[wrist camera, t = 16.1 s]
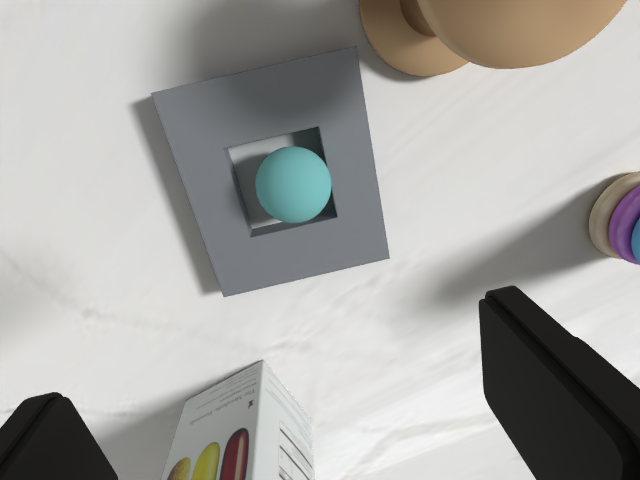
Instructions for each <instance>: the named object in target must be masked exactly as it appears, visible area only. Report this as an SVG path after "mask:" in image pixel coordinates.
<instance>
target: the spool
mask: <svg viewBox="0 0 640 480" xmlns="http://www.w3.org/2000/svg"><path fill="white" fill-rule="evenodd" d="M626 1H627V0H359V9H360V17H361V22H362V26H363V29H364V32H365V34H366V37H367V39H368V41H369V43H370V44H371V46H372V48H373V49H374V51H375V52H376V53H377V54H378V55H379V57H380V58H381V59H382V60H384V61H385V62H386V63H387V64H388V65H390V66H391V67H393V68H394V69H396V70H398V71H400V72H403V73H406V74H409V75H415V76H434V75H440V74H445V73H448V72H451V71H454V70H456V69H458V68H460V67H462V66H463V65H465V64H467V63H468V62H471V63H474V64H477V65H480V66H483V67H488V68H495V69H514V68H526V67H532V66H539V65H543V64H546V63H549V62H553V61H555V60H558V59H560V58H562V57H564V56H567V55H569V54H570V53H572V52H574V51H575V50H577V49H579V48H580V47H582V46H583V45H585V44H586V43H587V42H589V41H590V40H591V39H592V38H594V37H595V36H596V35H597V34H598V33H599V32H600V31H601V30H603V29H604V28H605V27H606V26H607V25H608V24H609V23H610V21H611V20H612V19H613V18H614V17H615V16H616V14H617V13H618V12H619V11H620V10H621V8H622V7H623V5H624V4H625V3H626Z"/></svg>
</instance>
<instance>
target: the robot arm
mask: <svg viewBox="0 0 640 480" xmlns="http://www.w3.org/2000/svg"><path fill="white" fill-rule="evenodd" d="M479 318H480V336H481V353H482V371H483V388H484V394H485V398H486V400H487V403H488V405H489V406H490V408H491V410H492V411H493V413H494V414H495V416H496V418H497V419H498V421H499V422H500V424H501V425H502V427H503V428H504V430H505V432H506V433H507V435H508V436H509V438H510V439H511V441H512V443H513V444H514V446H515V447H516V449H517V450H518V452H519V453H520V455H521V457H522V458H523V460H524V461H525V463H526V464H527V466H528V467H529V469H530V471H531V472H532V474H533V475H534V477H535V478H536V480H640V389H639V388H638V387H637V386H636V385H634V384H633V383H632V382H631V381H630V380H629V379H627V378H626V377H625V376H624V375H623V374H622V373H620V372H619V371H618V370H617V369H616V368H615V367H613V366H612V365H611V364H610V363H609V362H608V361H606V360H605V359H604V358H603V357H602V356H601V355H599V354H598V353H597V352H596V351H595V350H594V349H592V348H591V347H590V346H589V345H588V344H586V343H585V342H584V341H582V340H581V339H579V338H578V337H574V336H573V335H572V334H570V333H569V332H568V331H567V330H566V329H565V328H563V327H562V326H561V325H560V324H559V323H558V322H557V321H555V320H554V319H553V318H552V317H551V316H550V315H548V314H547V313H546V312H545V311H544V310H543V309H542V308H540V307H539V306H538V305H537V304H536V303H535V302H533V301H532V300H531V299H530V298H529V297H528V296H527V295H525V294H524V293H523V292H522V291H521V290H520V289H518V288H517V287H516V286H508V287H503V288H499V289H495V290H490V291H488V292H486V295H485V299H481V300H480V301H479ZM0 480H118V477H117V474H116V473H115V471H114V470H113V468H112V466H111V465H110V463H109V462H108V460H107V458H106V457H105V455H104V454H103V452H102V450H101V449H100V447H99V445H98V444H97V442H96V441H95V439H94V437H93V436H92V434H91V433H90V431H89V429H88V428H87V426H86V424H85V423H84V421H83V420H82V418H81V416H80V415H79V413H78V412H77V410H76V408H75V407H74V405H73V403H72V402H71V400H70V399H69V398H67V397H63V396H62V395H61V394H60V393H58V392H52V393H48V394H44V395H39V396H35V397H31V398H28V399H26V400H24V401H23V402H22V403H21V404H20V405H19V406H18V407H17V409H16V410H15V411H14V412H13V414H12V415H11V416H10V417H9V418H8V420H7V421H6V422H5V423H4V425H3V426H2V427H1V428H0Z"/></svg>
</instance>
